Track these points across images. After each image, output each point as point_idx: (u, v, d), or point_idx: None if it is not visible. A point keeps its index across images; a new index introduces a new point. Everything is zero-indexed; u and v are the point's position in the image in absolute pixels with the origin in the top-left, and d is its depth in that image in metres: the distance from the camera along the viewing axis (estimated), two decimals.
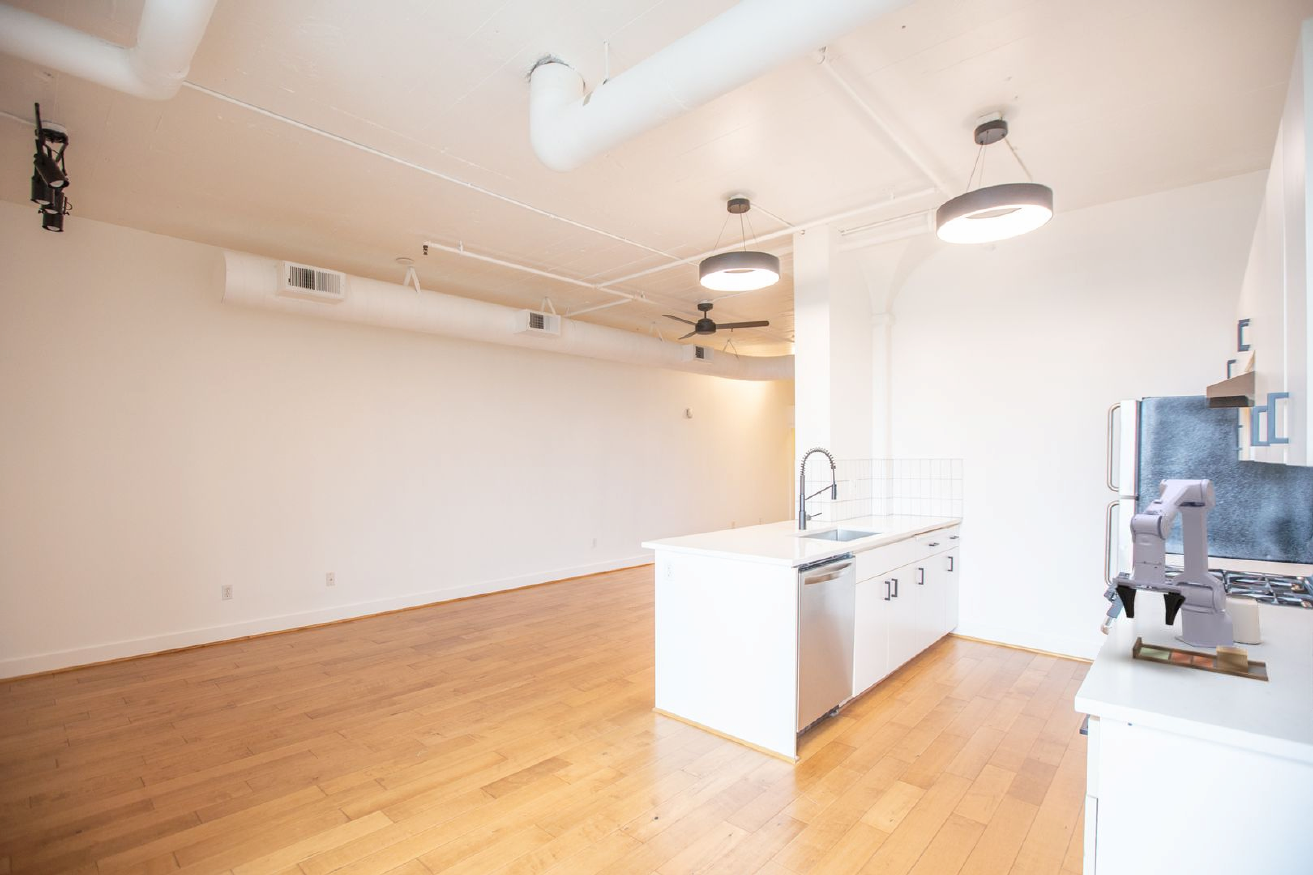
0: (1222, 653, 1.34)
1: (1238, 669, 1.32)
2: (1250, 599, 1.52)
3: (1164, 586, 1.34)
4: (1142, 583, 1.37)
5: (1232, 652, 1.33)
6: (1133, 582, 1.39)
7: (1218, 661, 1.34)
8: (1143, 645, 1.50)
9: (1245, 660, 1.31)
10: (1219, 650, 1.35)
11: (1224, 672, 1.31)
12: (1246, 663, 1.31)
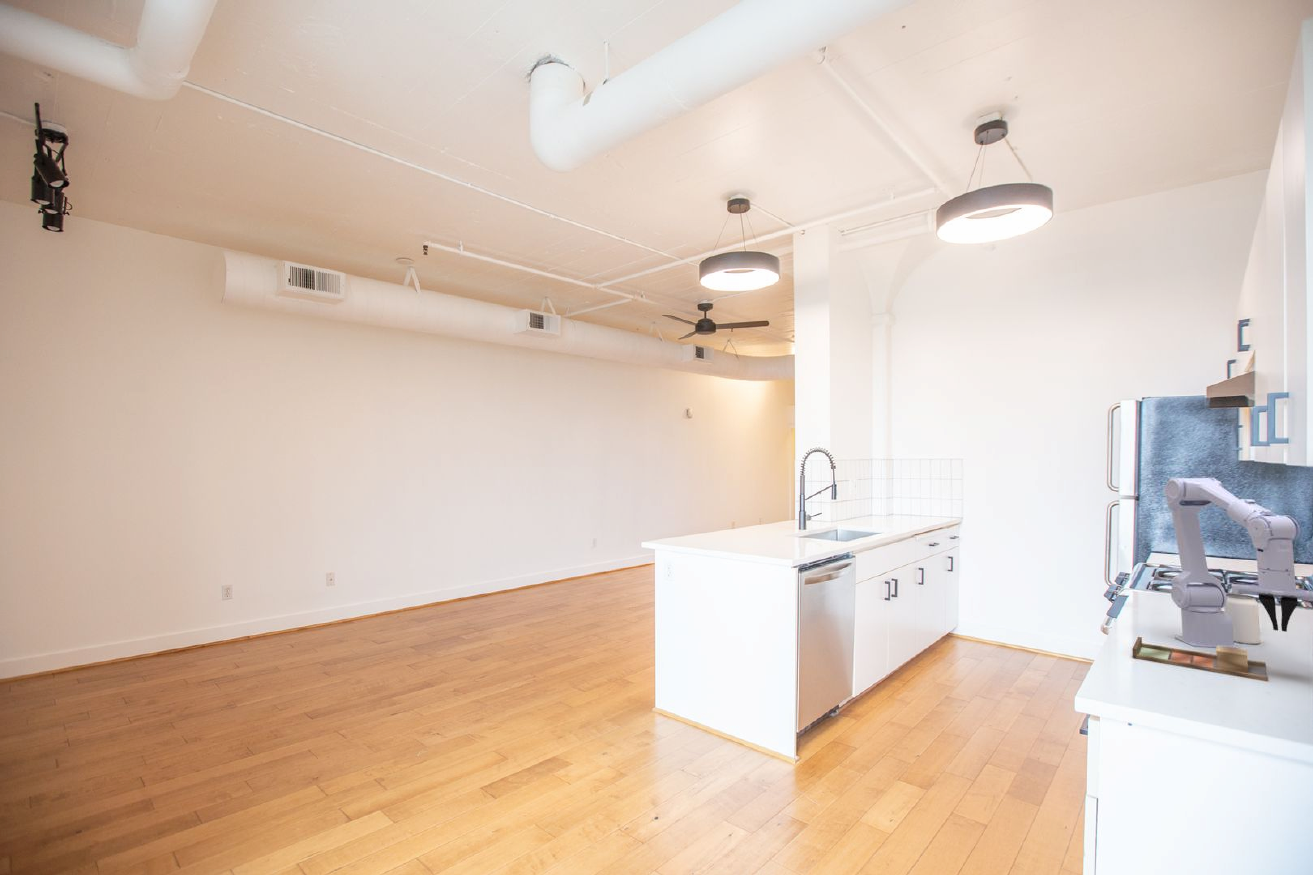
0: (1222, 653, 1.34)
1: (1238, 669, 1.32)
2: (1250, 599, 1.52)
3: (1301, 594, 1.26)
4: (1279, 593, 1.27)
5: (1232, 652, 1.33)
6: (1263, 591, 1.30)
7: (1218, 661, 1.34)
8: (1143, 645, 1.50)
9: (1245, 660, 1.31)
10: (1219, 650, 1.35)
11: (1224, 672, 1.31)
12: (1246, 663, 1.31)
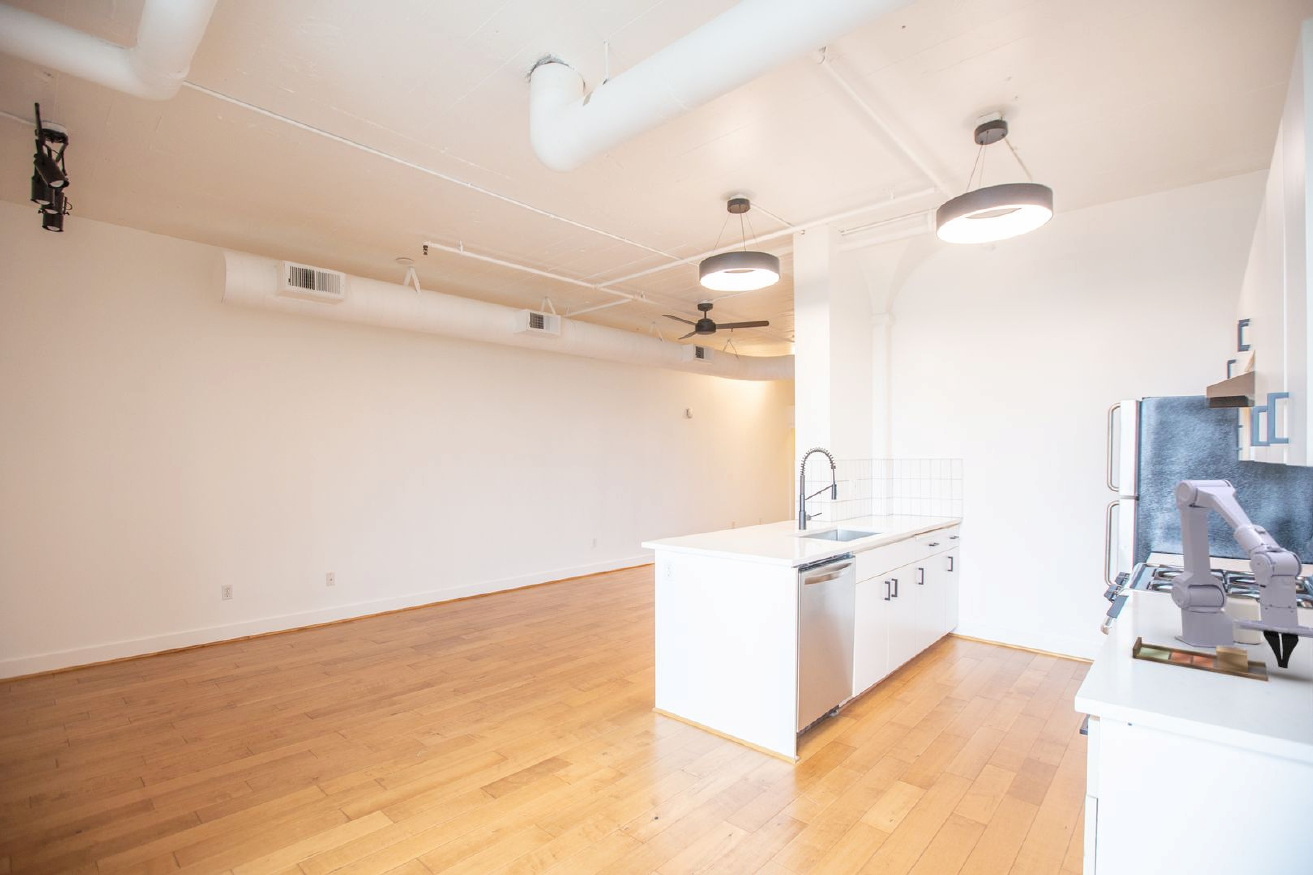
0: (1222, 653, 1.34)
1: (1238, 669, 1.32)
2: (1250, 599, 1.52)
3: (1304, 631, 1.25)
4: (1282, 630, 1.26)
5: (1232, 652, 1.33)
6: (1265, 627, 1.29)
7: (1218, 661, 1.34)
8: (1143, 645, 1.50)
9: (1245, 660, 1.31)
10: (1219, 650, 1.35)
11: (1224, 672, 1.31)
12: (1246, 663, 1.31)
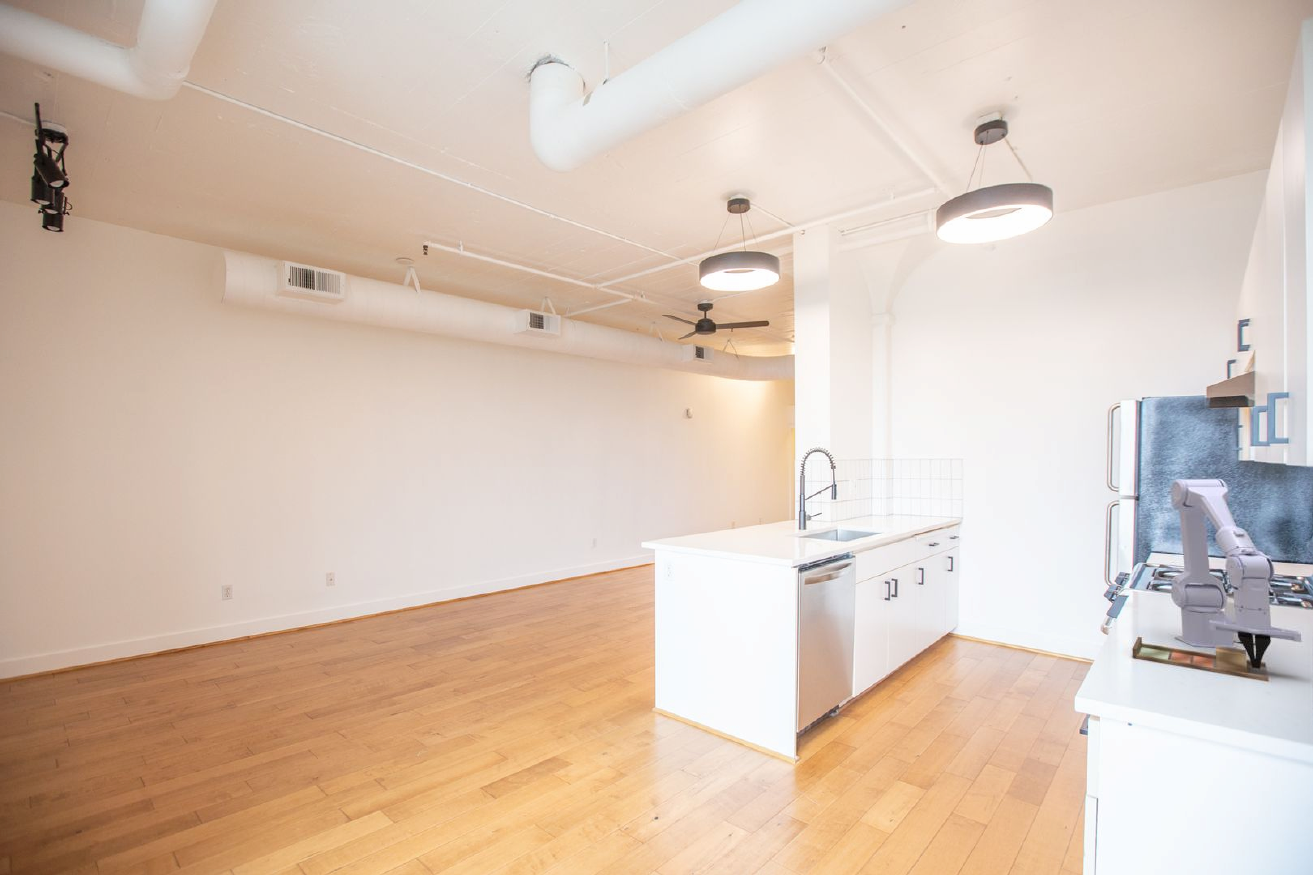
0: (1221, 653, 1.34)
1: (1237, 669, 1.32)
2: None
3: (1276, 633, 1.28)
4: (1254, 632, 1.29)
5: (1231, 652, 1.33)
6: (1239, 629, 1.32)
7: (1217, 661, 1.34)
8: (1143, 645, 1.50)
9: (1244, 660, 1.31)
10: (1218, 650, 1.35)
11: (1224, 672, 1.31)
12: (1245, 663, 1.31)
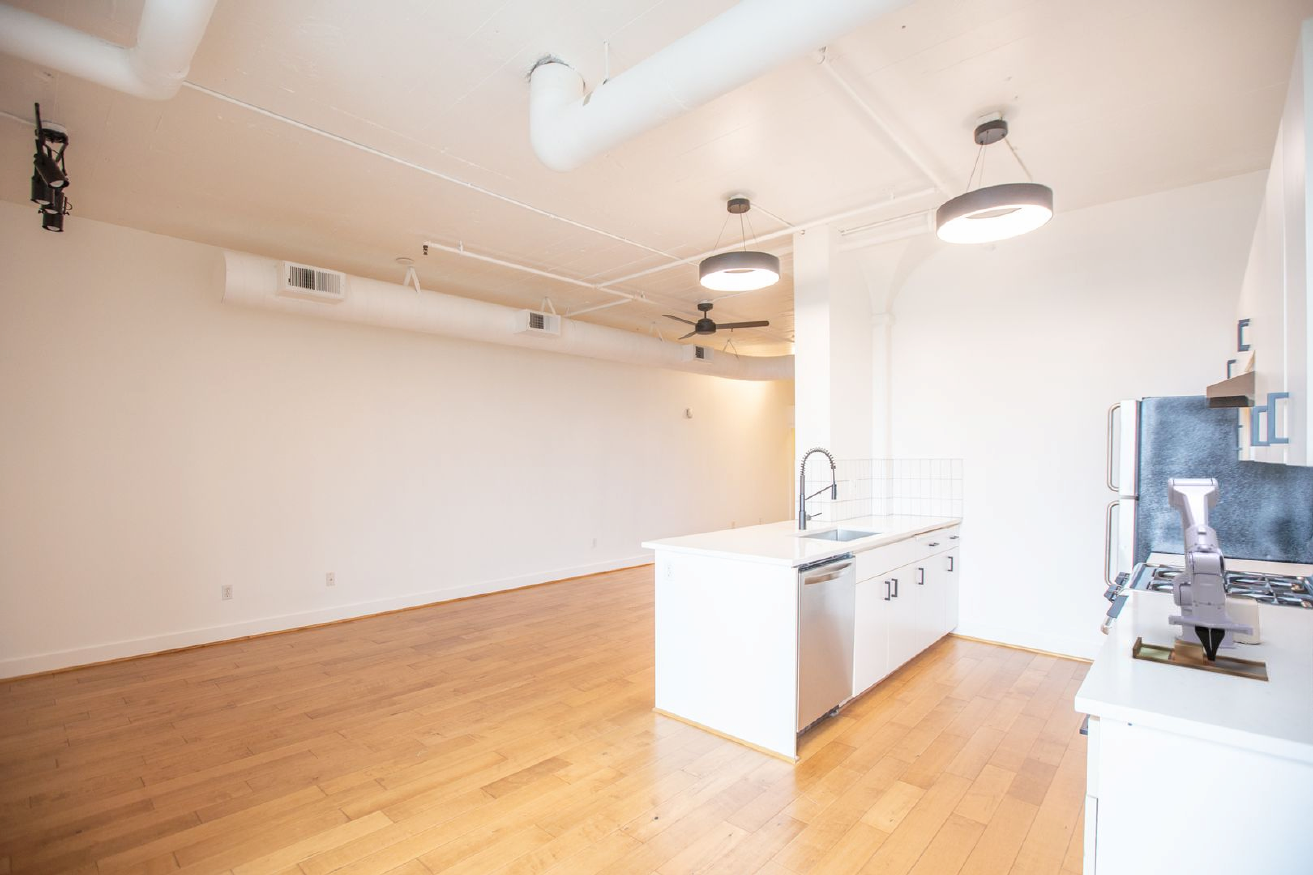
0: (1179, 646, 1.39)
1: (1194, 662, 1.37)
2: (1250, 599, 1.52)
3: (1230, 627, 1.33)
4: (1209, 626, 1.34)
5: (1188, 645, 1.38)
6: (1196, 623, 1.37)
7: (1175, 654, 1.39)
8: (1143, 645, 1.50)
9: (1200, 653, 1.36)
10: (1176, 644, 1.40)
11: (1224, 672, 1.31)
12: (1201, 656, 1.36)
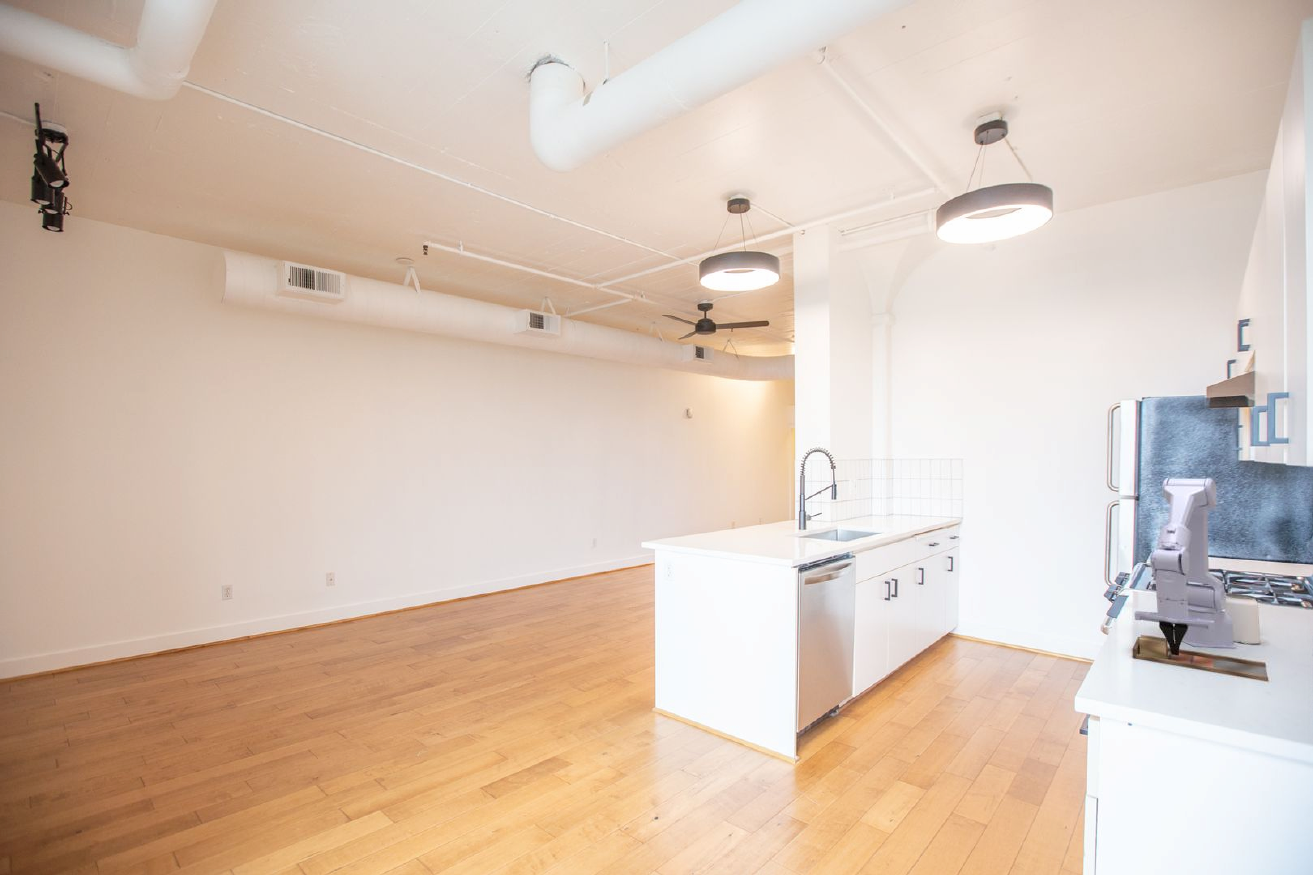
0: (1144, 641, 1.44)
1: (1158, 656, 1.42)
2: (1250, 599, 1.52)
3: (1192, 622, 1.38)
4: (1172, 621, 1.39)
5: (1153, 640, 1.43)
6: (1160, 618, 1.42)
7: (1140, 649, 1.44)
8: None
9: (1164, 647, 1.41)
10: (1142, 638, 1.44)
11: (1224, 672, 1.31)
12: (1165, 650, 1.41)
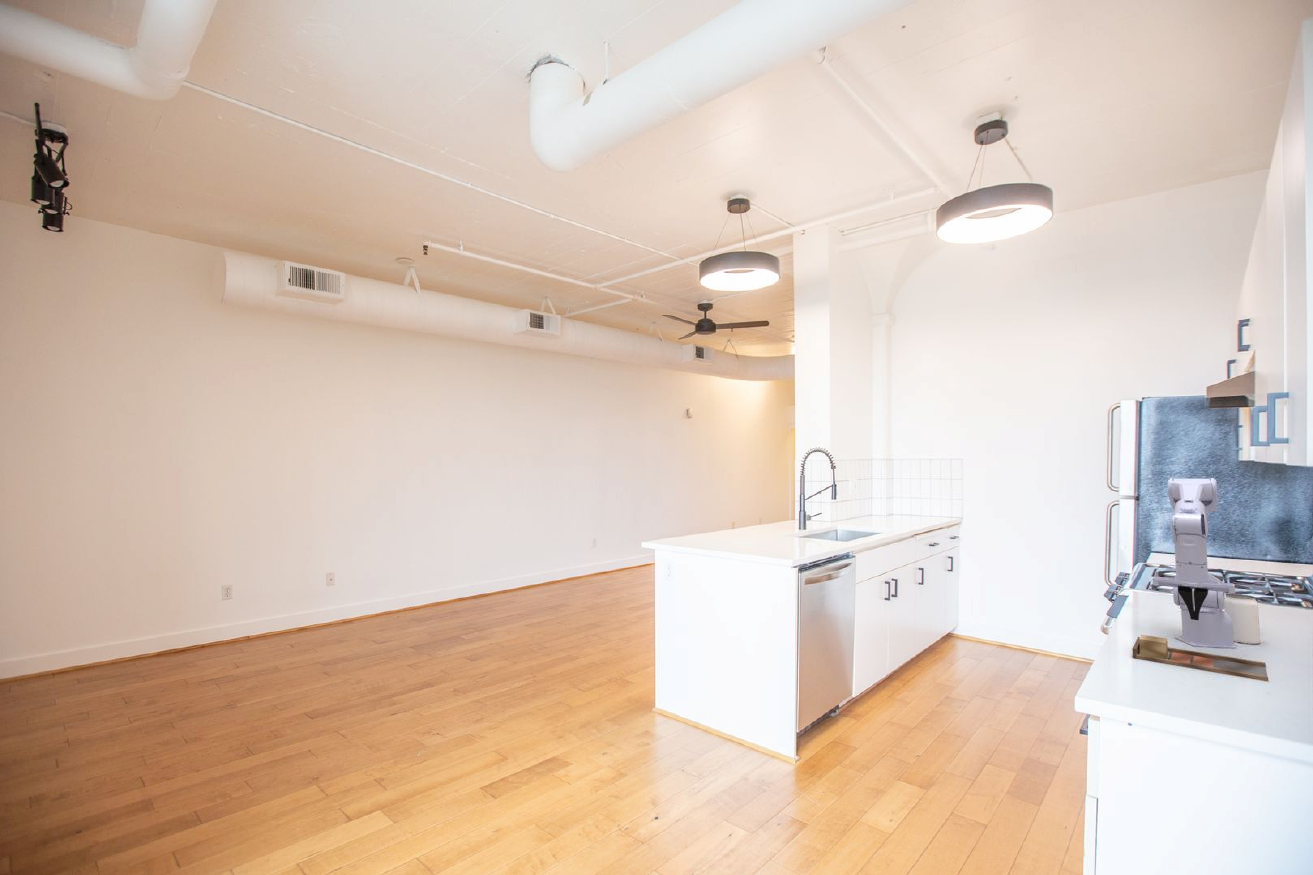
0: (1144, 641, 1.44)
1: (1158, 656, 1.42)
2: (1250, 599, 1.52)
3: (1212, 585, 1.36)
4: (1192, 585, 1.37)
5: (1153, 640, 1.43)
6: (1179, 583, 1.39)
7: (1140, 649, 1.44)
8: None
9: (1164, 647, 1.41)
10: (1141, 638, 1.44)
11: (1224, 672, 1.31)
12: (1165, 650, 1.41)
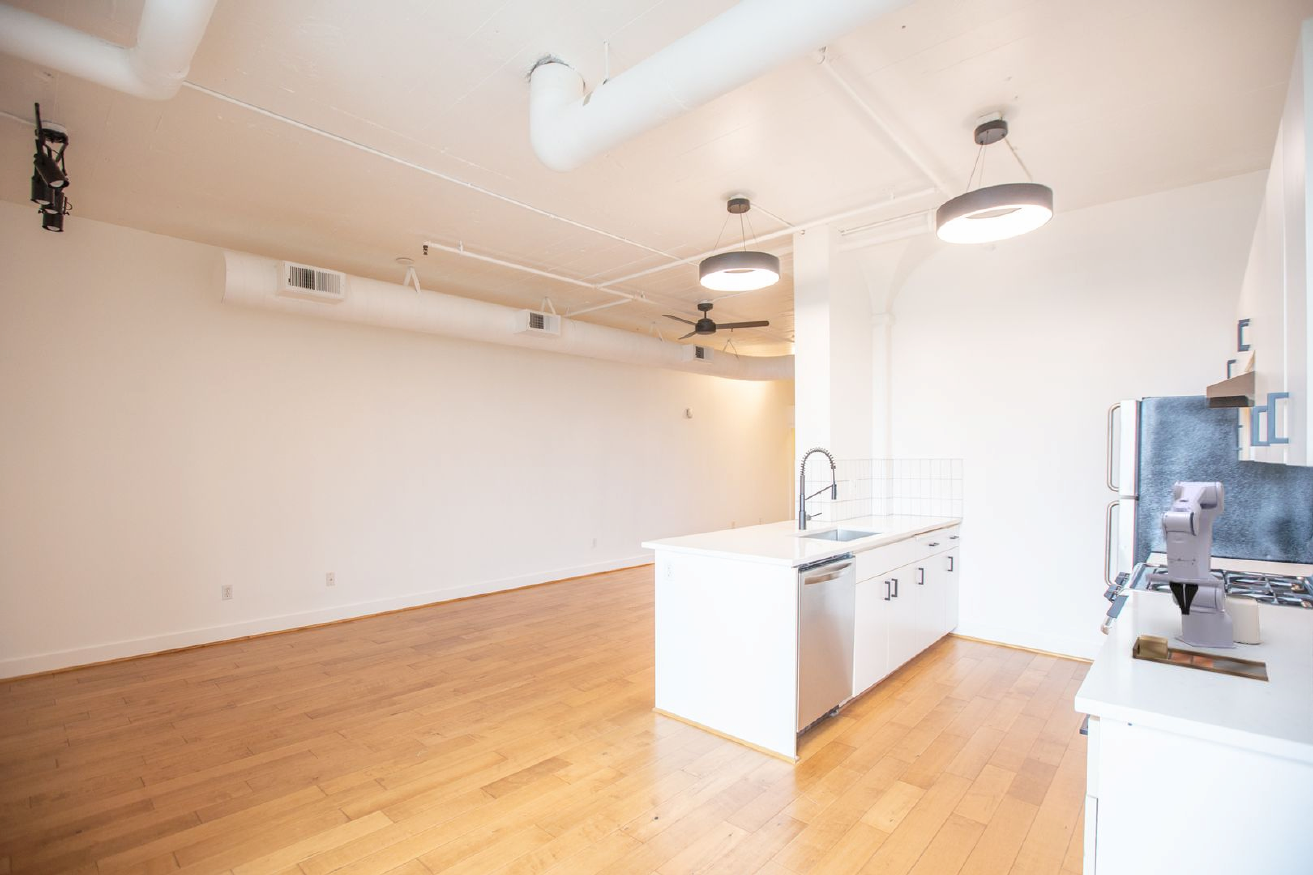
0: (1144, 641, 1.44)
1: (1158, 656, 1.42)
2: (1250, 599, 1.52)
3: (1202, 581, 1.40)
4: (1183, 581, 1.41)
5: (1153, 640, 1.43)
6: (1170, 579, 1.44)
7: (1140, 649, 1.44)
8: None
9: (1164, 647, 1.41)
10: (1141, 638, 1.44)
11: (1224, 672, 1.31)
12: (1165, 650, 1.41)
